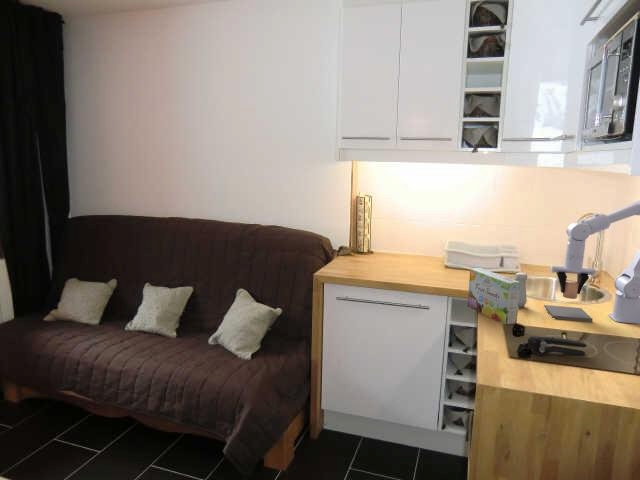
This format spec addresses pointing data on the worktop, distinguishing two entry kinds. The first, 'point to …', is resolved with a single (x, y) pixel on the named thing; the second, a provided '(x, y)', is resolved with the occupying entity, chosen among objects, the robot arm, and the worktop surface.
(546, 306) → the plate
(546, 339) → the can opener
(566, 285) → the toy block
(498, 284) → the snack box
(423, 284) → the worktop surface
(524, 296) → the salt shaker
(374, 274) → the worktop surface
